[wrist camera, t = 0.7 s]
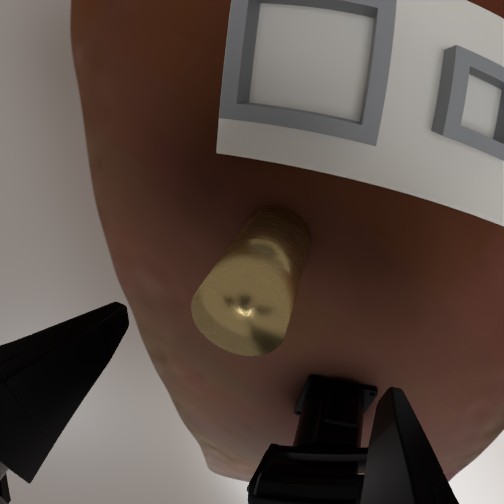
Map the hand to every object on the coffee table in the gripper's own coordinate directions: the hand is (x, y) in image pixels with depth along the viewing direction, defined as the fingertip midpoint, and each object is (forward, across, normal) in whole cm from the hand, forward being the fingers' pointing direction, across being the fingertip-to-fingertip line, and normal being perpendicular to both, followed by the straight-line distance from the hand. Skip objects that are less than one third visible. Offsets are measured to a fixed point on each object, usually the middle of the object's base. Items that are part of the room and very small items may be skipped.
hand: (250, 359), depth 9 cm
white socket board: (+11, -3, -10) cm, 15 cm away
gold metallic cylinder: (+11, +1, +1) cm, 11 cm away
